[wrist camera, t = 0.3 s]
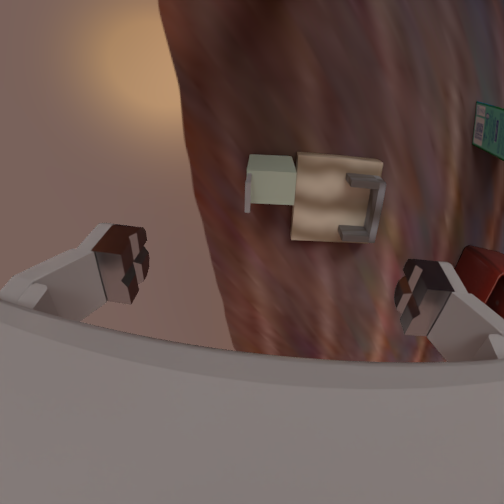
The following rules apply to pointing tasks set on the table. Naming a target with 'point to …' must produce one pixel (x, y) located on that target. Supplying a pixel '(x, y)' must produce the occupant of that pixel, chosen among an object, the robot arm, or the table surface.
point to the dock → (337, 198)
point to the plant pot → (483, 276)
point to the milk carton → (489, 129)
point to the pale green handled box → (270, 180)
